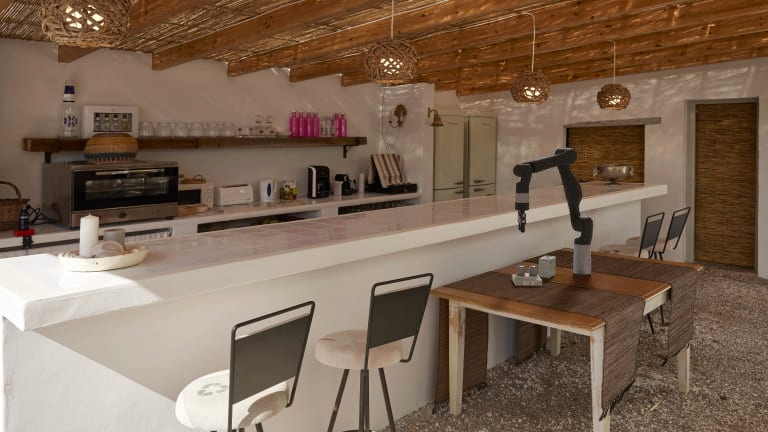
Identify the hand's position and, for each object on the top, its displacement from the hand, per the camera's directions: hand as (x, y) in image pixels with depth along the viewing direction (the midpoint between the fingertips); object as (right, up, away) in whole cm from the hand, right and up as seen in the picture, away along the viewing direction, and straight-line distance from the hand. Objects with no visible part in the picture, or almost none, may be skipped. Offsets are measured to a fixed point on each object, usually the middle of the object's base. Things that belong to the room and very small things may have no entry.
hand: (521, 231), depth 317 cm
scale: (+3, -28, +3) cm, 28 cm away
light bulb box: (+19, -26, +19) cm, 38 cm away
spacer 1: (0, -24, +3) cm, 24 cm away
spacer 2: (+7, -24, +2) cm, 25 cm away
